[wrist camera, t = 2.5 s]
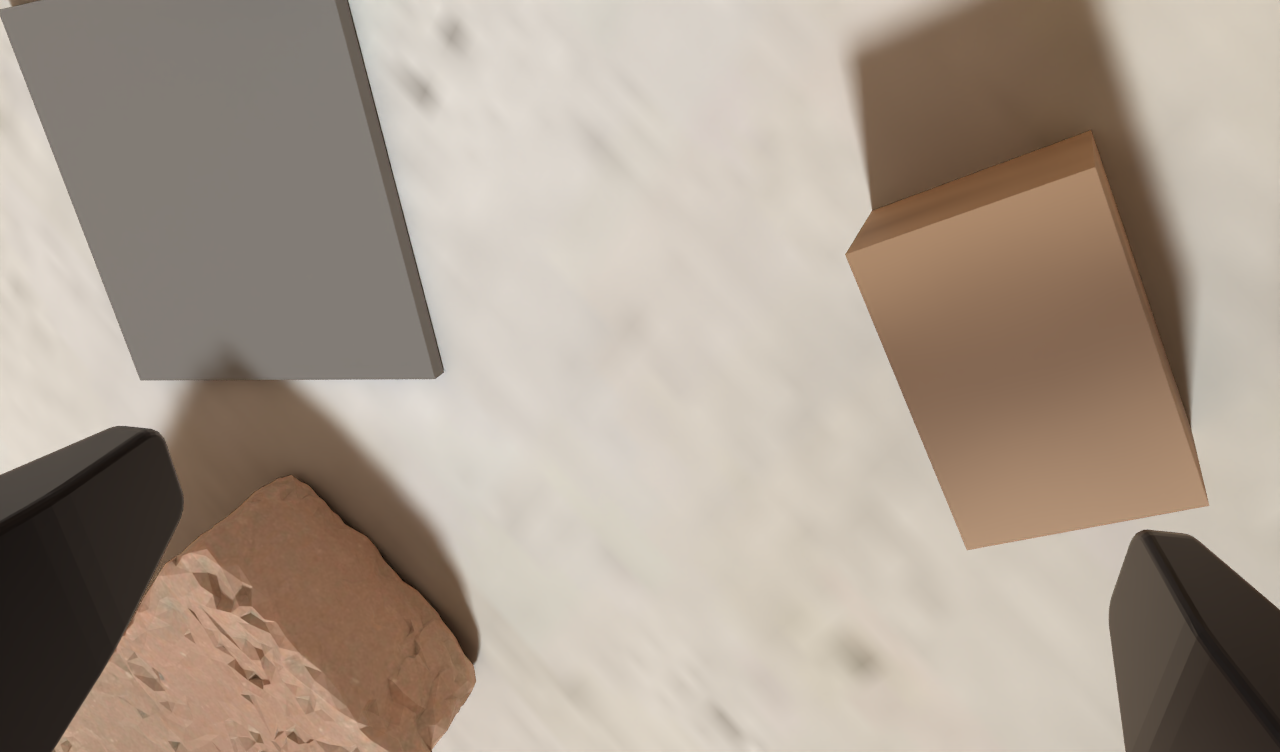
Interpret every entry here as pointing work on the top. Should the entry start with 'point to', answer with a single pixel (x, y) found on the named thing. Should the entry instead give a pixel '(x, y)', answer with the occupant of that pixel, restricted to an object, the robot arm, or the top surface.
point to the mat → (230, 185)
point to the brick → (277, 646)
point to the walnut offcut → (1029, 349)
